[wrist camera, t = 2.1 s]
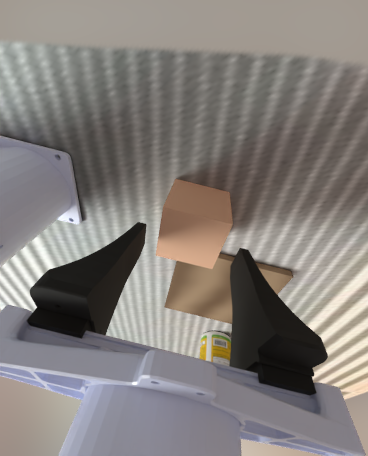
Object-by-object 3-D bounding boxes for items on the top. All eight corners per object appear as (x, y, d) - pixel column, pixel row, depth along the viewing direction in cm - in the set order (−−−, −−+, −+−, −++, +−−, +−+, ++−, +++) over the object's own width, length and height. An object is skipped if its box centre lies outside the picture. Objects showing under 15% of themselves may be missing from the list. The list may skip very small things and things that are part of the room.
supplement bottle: (209, 345, 37) (206, 413, 29) (196, 332, 34) (189, 403, 27) (235, 342, 35) (240, 416, 27) (224, 328, 32) (225, 405, 24)
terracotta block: (167, 221, 20) (155, 255, 16) (175, 178, 17) (163, 206, 13) (213, 232, 20) (212, 269, 16) (229, 191, 17) (232, 224, 13)
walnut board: (165, 302, 30) (164, 307, 29) (181, 243, 22) (180, 248, 21) (245, 322, 30) (246, 327, 29) (291, 271, 22) (293, 276, 21)
